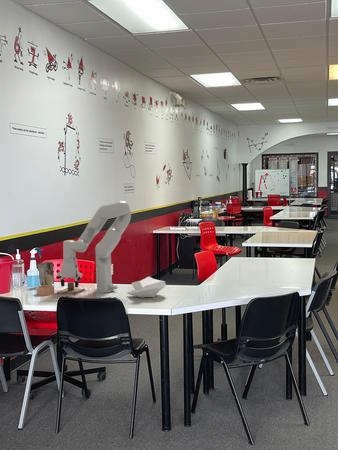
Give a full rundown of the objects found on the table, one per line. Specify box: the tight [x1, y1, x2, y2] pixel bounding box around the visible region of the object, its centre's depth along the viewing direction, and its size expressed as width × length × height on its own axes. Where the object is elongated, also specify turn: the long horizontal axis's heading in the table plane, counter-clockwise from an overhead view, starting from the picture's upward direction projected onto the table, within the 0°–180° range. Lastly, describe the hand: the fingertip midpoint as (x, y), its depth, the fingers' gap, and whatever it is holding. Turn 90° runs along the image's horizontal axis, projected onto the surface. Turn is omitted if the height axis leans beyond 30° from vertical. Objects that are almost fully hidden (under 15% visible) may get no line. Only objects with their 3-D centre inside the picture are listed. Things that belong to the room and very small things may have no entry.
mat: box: [54, 289, 88, 296], centre depth 367 cm, size 15×15×1 cm
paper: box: [126, 276, 167, 298], centre depth 346 cm, size 25×24×12 cm
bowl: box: [35, 285, 55, 297], centre depth 363 cm, size 10×10×5 cm
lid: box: [56, 281, 86, 295], centre depth 367 cm, size 13×13×6 cm
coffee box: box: [36, 261, 55, 286], centre depth 394 cm, size 9×6×16 cm
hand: (69, 286), depth 367 cm, fingers open, 9 cm apart
